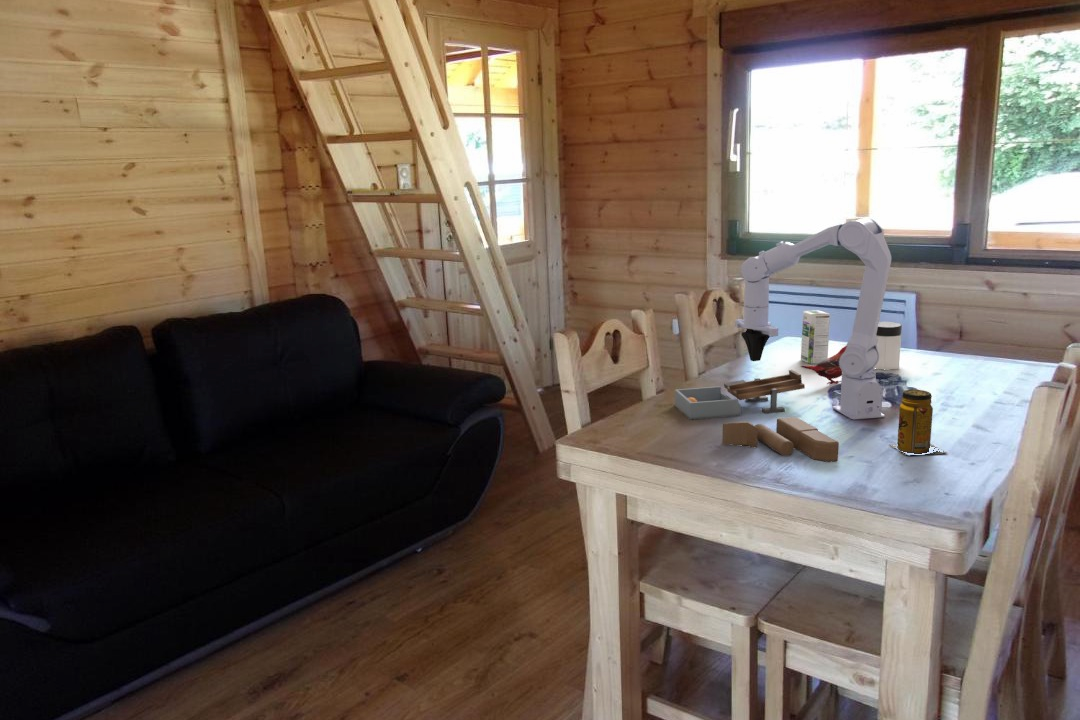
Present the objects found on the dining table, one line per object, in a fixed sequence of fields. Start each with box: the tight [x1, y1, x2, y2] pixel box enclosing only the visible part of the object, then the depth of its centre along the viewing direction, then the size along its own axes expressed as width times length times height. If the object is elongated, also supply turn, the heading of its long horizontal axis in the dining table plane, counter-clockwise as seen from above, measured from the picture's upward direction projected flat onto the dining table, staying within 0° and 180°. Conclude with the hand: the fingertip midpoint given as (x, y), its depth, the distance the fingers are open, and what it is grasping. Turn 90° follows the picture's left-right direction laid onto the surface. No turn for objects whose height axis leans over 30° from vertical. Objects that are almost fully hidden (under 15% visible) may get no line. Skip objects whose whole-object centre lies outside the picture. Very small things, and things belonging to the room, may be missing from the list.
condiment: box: [888, 389, 948, 456], centre depth 167 cm, size 7×8×12 cm
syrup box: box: [800, 309, 831, 365], centre depth 240 cm, size 6×6×14 cm
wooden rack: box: [723, 369, 806, 401], centre depth 201 cm, size 16×12×3 cm
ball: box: [688, 397, 697, 402], centre depth 198 cm, size 3×3×3 cm
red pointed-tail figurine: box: [800, 344, 847, 385], centre depth 215 cm, size 3×18×10 cm, turn 112°
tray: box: [674, 385, 741, 421], centre depth 198 cm, size 12×12×4 cm
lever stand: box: [745, 377, 786, 415], centre depth 200 cm, size 5×11×6 cm, turn 8°
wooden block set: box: [721, 416, 840, 463], centre depth 170 cm, size 17×6×18 cm
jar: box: [874, 321, 903, 371], centre depth 231 cm, size 9×8×12 cm
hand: (755, 360), depth 206 cm, fingers closed
